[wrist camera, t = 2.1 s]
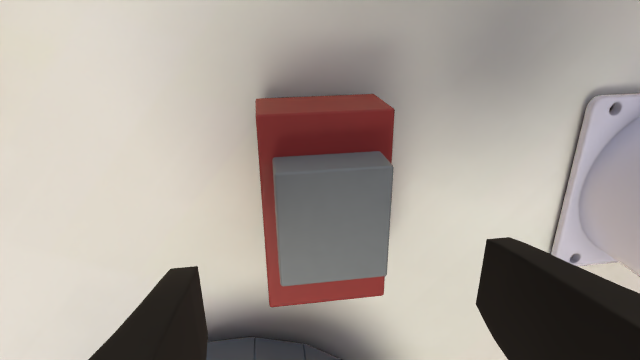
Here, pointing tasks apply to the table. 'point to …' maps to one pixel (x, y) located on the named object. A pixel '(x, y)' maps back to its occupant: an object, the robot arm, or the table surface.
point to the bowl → (263, 350)
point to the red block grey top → (325, 195)
